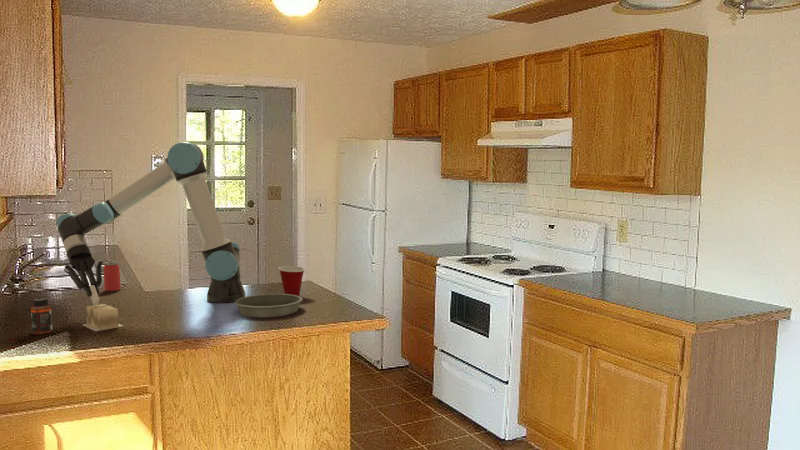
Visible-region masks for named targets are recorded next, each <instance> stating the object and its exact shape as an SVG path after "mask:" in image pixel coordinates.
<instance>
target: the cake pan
mask: <svg viewBox="0 0 800 450" xmlns="http://www.w3.org/2000/svg"><path fill="white" fill-rule="evenodd" d="M302 301H303V297H302V296H300V295H299V296H296V295H291V294H284V293H262V294H261V293H260V294H254V295H248V296H246V297H243V298H240V299H238V300H236V301H235V302H234V303H235V305H236V306H237V308H238V312H239V314H240V315H242V316H243V317H250V318H274V317H275V318H276V317H282V316H283V317H284V316H288V315H290V314H292V315H293V314H294V313H296V312H298V310H299V308H300V303H301V302H302Z"/></svg>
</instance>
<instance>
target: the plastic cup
mask: <svg viewBox="0 0 800 450" xmlns="http://www.w3.org/2000/svg"><path fill="white" fill-rule="evenodd" d="M278 270H279V274H280V278H281V283H282V289H283V294H291V295H296V296H300V295H301V294H300V293H301V288H302V283H303V281H302V280H303V276H304V273H305V271H306V268H305V267H302V266H295V265H291V266H289V265H287V266H286V265H283V266H279V267H278Z"/></svg>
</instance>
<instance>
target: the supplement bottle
mask: <svg viewBox="0 0 800 450" xmlns="http://www.w3.org/2000/svg"><path fill="white" fill-rule="evenodd" d="M30 316H31V327H32V328H31V330H32V335H36V336H37V335H38V336H39V335H47V334H50V333H52V332H53V330H54V329H53V327H54V326H53V317H52V316H53V315H52V305H50V304H49V303H48V298H47V297H41V298H34V299H33V305H32V306H31V308H30Z"/></svg>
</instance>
